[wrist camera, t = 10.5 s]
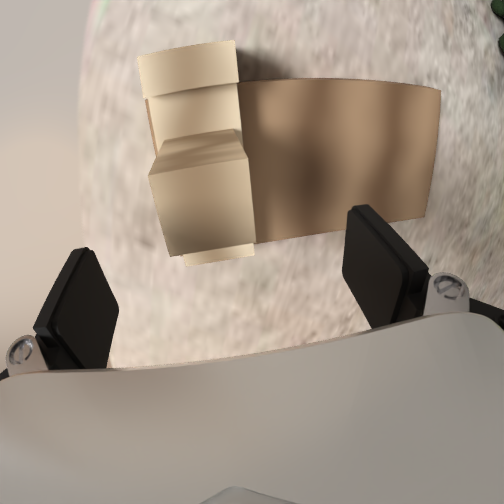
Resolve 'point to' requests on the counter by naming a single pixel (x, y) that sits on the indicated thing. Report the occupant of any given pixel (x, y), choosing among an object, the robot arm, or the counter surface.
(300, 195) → the walnut board
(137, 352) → the counter surface
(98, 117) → the counter surface
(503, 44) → the toy figurine
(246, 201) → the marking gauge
